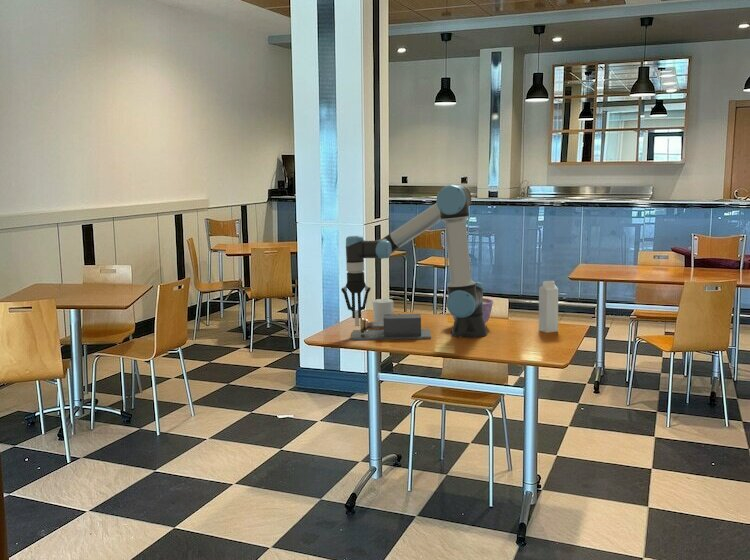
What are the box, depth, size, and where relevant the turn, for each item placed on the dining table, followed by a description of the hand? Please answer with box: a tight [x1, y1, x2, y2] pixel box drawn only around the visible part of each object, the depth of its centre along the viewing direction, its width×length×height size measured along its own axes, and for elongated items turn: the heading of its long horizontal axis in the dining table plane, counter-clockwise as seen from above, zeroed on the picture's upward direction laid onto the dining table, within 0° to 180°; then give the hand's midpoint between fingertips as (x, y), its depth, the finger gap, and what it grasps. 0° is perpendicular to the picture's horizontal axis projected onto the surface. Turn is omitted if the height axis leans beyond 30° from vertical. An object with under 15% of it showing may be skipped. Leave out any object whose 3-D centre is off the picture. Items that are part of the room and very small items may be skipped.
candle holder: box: [371, 298, 394, 322], centre depth 338 cm, size 10×10×12 cm
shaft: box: [360, 317, 384, 333], centre depth 318 cm, size 22×7×7 cm, turn 88°
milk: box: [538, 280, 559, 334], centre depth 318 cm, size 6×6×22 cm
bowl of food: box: [451, 297, 494, 324], centre depth 333 cm, size 20×20×12 cm
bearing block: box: [350, 313, 432, 341], centre depth 318 cm, size 34×16×8 cm, turn 88°
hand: (357, 325), depth 318 cm, fingers closed
